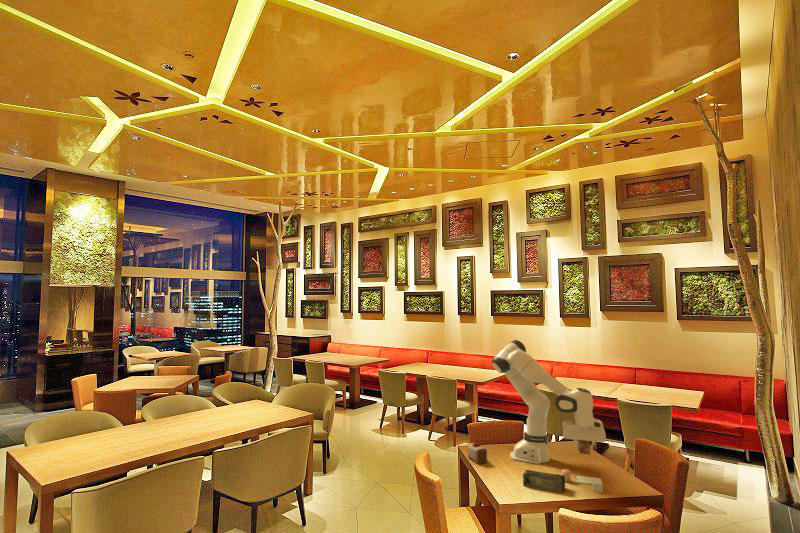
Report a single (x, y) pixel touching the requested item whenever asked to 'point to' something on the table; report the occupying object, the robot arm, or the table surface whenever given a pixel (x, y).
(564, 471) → the brown egg
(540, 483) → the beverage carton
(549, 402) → the robot arm
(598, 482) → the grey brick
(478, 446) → the grey canister red cap
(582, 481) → the green tile
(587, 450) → the walnut cube
